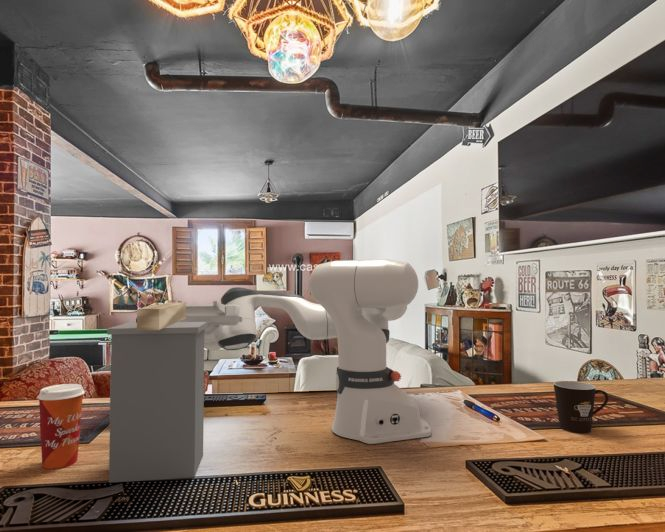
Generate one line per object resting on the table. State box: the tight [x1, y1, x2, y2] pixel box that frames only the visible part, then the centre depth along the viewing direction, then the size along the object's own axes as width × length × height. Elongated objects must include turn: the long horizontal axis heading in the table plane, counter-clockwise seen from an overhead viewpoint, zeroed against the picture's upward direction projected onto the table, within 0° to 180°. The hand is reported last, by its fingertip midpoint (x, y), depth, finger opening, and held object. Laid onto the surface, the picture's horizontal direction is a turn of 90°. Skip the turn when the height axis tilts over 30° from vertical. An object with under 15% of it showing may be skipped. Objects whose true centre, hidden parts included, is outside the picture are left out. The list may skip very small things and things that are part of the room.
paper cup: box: [36, 383, 86, 470], centre depth 83 cm, size 8×8×14 cm
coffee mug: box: [553, 380, 609, 434], centre depth 101 cm, size 12×9×10 cm
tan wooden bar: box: [136, 301, 187, 330], centre depth 84 cm, size 4×23×4 cm, turn 8°
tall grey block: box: [106, 322, 207, 483], centre depth 81 cm, size 15×11×26 cm
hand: (197, 303), depth 112 cm, fingers open, 8 cm apart
